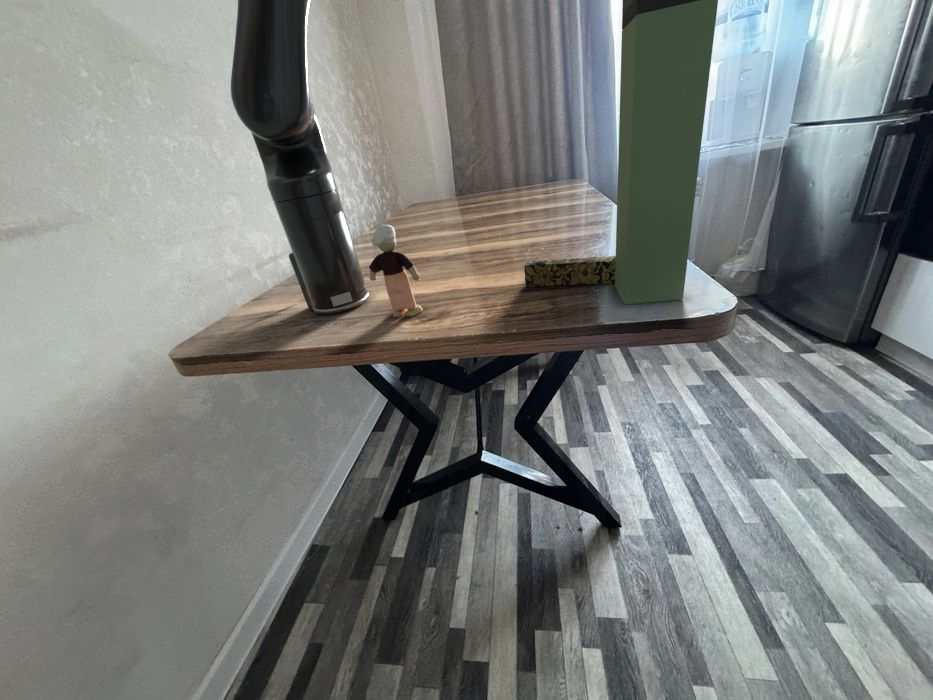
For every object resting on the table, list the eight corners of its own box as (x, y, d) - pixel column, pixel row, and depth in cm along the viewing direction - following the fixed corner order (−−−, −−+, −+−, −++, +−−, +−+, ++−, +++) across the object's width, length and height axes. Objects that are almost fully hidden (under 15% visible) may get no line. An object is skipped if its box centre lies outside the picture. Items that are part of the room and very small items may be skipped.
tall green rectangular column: (624, 304, 47) (639, -43, 32) (614, 286, 53) (623, -17, 38) (683, 299, 46) (726, -65, 31) (666, 281, 52) (696, -35, 37)
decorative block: (525, 287, 58) (523, 264, 56) (528, 281, 60) (526, 259, 58) (636, 283, 53) (637, 258, 51) (635, 277, 55) (636, 253, 53)
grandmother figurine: (431, 305, 58) (412, 218, 52) (426, 315, 54) (405, 224, 48) (383, 310, 59) (359, 226, 53) (375, 321, 56) (349, 232, 50)
